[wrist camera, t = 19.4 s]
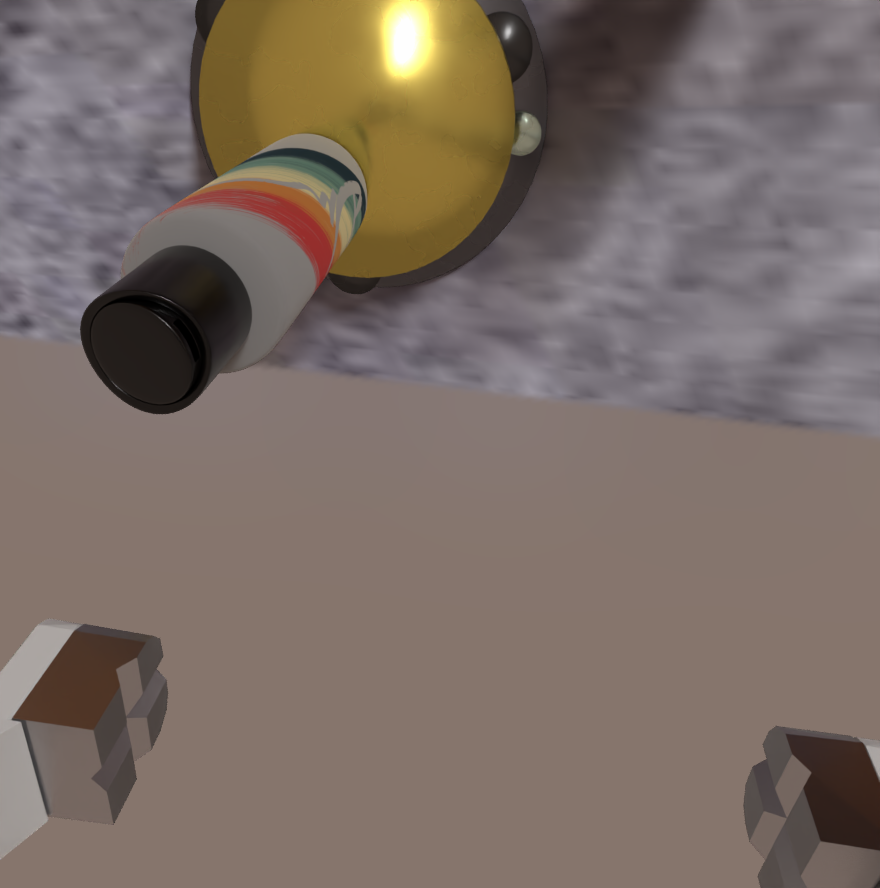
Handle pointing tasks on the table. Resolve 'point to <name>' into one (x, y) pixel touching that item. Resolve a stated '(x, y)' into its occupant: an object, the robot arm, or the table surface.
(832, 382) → the table surface
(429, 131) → the levelling base
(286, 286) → the lotion bottle
